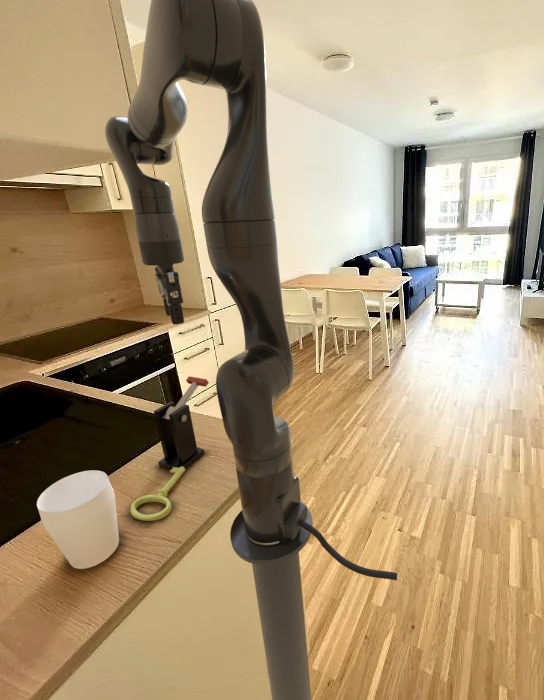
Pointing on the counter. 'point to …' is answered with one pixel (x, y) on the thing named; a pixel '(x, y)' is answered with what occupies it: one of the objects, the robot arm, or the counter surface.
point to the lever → (186, 395)
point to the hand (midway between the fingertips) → (174, 319)
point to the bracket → (177, 438)
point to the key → (157, 499)
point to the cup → (81, 517)
